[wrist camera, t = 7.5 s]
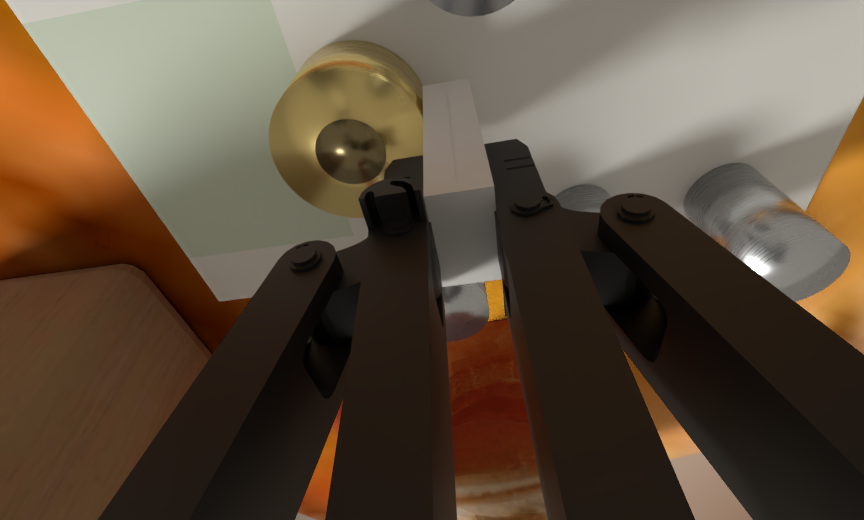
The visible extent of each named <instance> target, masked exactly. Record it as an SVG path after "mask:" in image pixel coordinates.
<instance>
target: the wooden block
mask: <svg viewBox="0 0 864 520" xmlns="http://www.w3.org/2000/svg"><path fill="white" fill-rule="evenodd" d="M211 356H212V354H211V353H210V352H209V350H208V349H207V348H206V347H205V345H204V344H203V343H202V342H201V341H200V339H199V338H198V337H197V336H196V335H195V333H194V332H193V331H192V330H191V328H190V327H189V326H188V325H187V324H186V322H185V321H184V320H183V319H182V317H181V316H180V315H179V314H178V313H177V311H176V310H175V309H174V308H173V306H172V305H171V304H170V303H169V302H168V300H167V299H166V298H165V297H164V295H163V294H162V293H161V292H160V291H159V289H158V288H157V287H156V286H155V285H154V283H153V282H152V281H151V280H150V278H149V277H148V276H147V275H146V274H145V272H143V271H142V270H140V269H138V268H137V267H135V266H132V265H127V264H116V265H108V266H101V267H94V268H86V269H79V270H72V271H64V272H57V273H50V274H43V275H35V276H28V277H21V278H13V279H6V280H0V520H98V518H99V517H100V516H101V514H102V513H103V511H104V510H105V508H106V507H107V505H108V504H109V503H110V501H111V500H112V498H113V497H114V495H115V494H116V493H117V491H118V490H119V488H120V487H121V485H122V484H123V482H124V481H125V480H126V478H127V477H128V475H129V474H130V472H131V471H132V470H133V468H134V467H135V465H136V464H137V462H138V461H139V459H140V458H141V457H142V455H143V454H144V452H145V451H146V449H147V448H148V447H149V445H150V444H151V442H152V441H153V439H154V438H155V436H156V435H157V434H158V432H159V431H160V429H161V428H162V426H163V425H164V423H165V422H166V421H167V419H168V418H169V416H170V415H171V413H172V412H173V411H174V409H175V408H176V406H177V405H178V403H179V402H180V400H181V399H182V398H183V396H184V395H185V393H186V392H187V390H188V389H189V388H190V386H191V385H192V383H193V382H194V380H195V379H196V377H197V376H198V375H199V373H200V372H201V370H202V369H203V367H204V366H205V364H206V363H207V362H208V360H209V359H210V357H211Z"/></svg>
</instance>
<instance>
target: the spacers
mask: <svg viewBox="0 0 864 520" xmlns="http://www.w3.org/2000/svg"><path fill="white" fill-rule="evenodd" d="M429 1H430V2H431V3H433V4H434V5H436V6H437V7H438V8H440V9H442V10H444V11H446V12H449V13H452V14H454V15H459V16H467V17H475V16H483V15H487V14H491V13H494V12H496V11H498V10H501V9H502V8H504V7H506V6H508V5H509V4H511V3H512V2H513V1H515V0H429ZM555 198H556V199H557V200H558V201H559V203H560V205H561V207H563V208H566V209H569V210H574V211H581V212H598V213H600V207H601V205H602V204H603V203H604V202H605V201H606V200H607V199H609V198H611V196H610V195H609V193H608V192H607V191H606V190H604V189H603V188H601V187H599V186H596V185H590V184H583V185H576V186H573V187H570V188H567V189H565V190H563V191H562V192H560V193H559V194H557V195H556V196H555ZM683 207H684V211H685V214H686V215H687V216H688V218H689V219H690V220H691V221H692V223H693V224H694V225H696V226H697V227H698V228H700V229H701V230H702V231H703V232H705V233H706V234H707V235H709V236H710V237H711V238H713V239H714V240H715V241H716V242H718V243H719V244H720V245H722V246H723V247H724V248H726V249H727V250H728V251H729V252H731V253H732V254H733V255H735V256H736V257H737V258H739V259H740V260H741V261H742V262H744V263H745V264H746V265H748V266H749V267H750V268H752V269H753V270H754V271H755V272H757V273H758V274H759V275H761V276H762V277H763V278H765V279H766V280H767V281H768V282H770V283H771V284H772V285H774V286H775V287H776V288H778V289H779V290H780V291H781V292H783V293H784V294H785V295H787V296H788V297H789V298H791V299H792V300H793V301H794V302H795V301H799V300H802V299H804V298H807V297H809V296H812V295H814V294H816V293H818V292H819V291H821V290H823V289H824V288H826V287H827V286H829V285H830V284H832V283H833V282H834V281H835V280H836V279H837V278H839V276H840V275H841V274H842V273H843V272H844V271H845V269H846V267H847V266H848V264H849V261H850V251H849V249H848V248H847V246H845V245H844V244H843V243H842V242H841V241H840V240H838V239H837V238H836V237H835V236H834V235H832V234H831V233H830V232H829V231H828V230H827V229H825V228H824V227H823V226H822V225H821V224H820V223H818V222H817V221H816V220H815V219H814V218H812V217H811V216H810V215H809V214H808V213H807V212H805V211H804V210H803V209H802V208H801V207H800V206H798V205H797V204H796V203H795V202H794V201H792V200H791V199H790V198H789V197H788V196H787V195H785V194H784V193H783V192H782V191H781V190H780V189H778V188H777V187H776V186H775V185H774V184H772V183H771V182H770V181H769V180H768V179H767V178H765V177H764V176H763V175H762V174H761V173H760V172H758V171H757V170H756V169H755V168H754V167H752V166H750V165H748V164H745V163H730V164H725V165H722V166H719V167H717V168H714V169H712V170H710V171H709V172H707V173H705V174H704V175H703V176H701V177H700V178H699V179H698V180H697V181H696V182H695V183H694V184H693V185H692V186H691V187H690V189H689V190H688V192H687V194H686V196H685V199H684V204H683ZM441 289H442V293H443V298H444V303H445V320H446V337H447V342H452V341H459V340H463V339H466V338H468V337H471V336H473V335H474V334H476V333H478V332H479V331H480V330H481V329H482V328H483V327H484V326H485V324H486V323H487V321H488V318H489V307H488V301H487V295H486V288H485V282H477V283H470V284H462V285H454V286H447V287H442V282H441Z"/></svg>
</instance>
